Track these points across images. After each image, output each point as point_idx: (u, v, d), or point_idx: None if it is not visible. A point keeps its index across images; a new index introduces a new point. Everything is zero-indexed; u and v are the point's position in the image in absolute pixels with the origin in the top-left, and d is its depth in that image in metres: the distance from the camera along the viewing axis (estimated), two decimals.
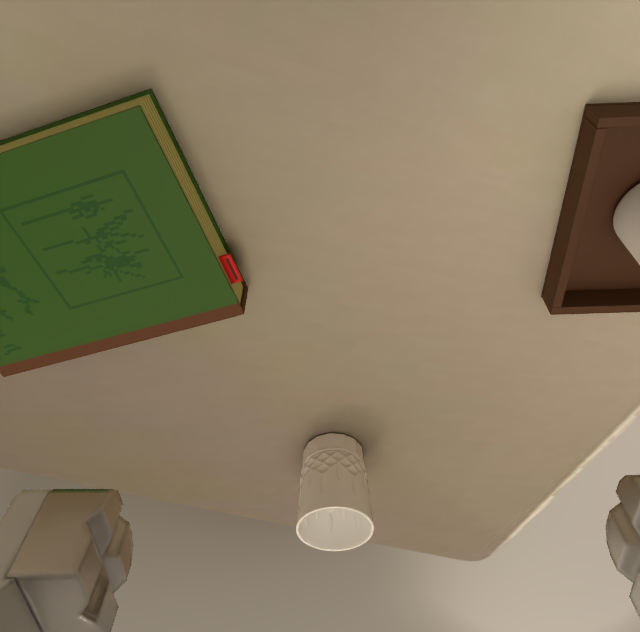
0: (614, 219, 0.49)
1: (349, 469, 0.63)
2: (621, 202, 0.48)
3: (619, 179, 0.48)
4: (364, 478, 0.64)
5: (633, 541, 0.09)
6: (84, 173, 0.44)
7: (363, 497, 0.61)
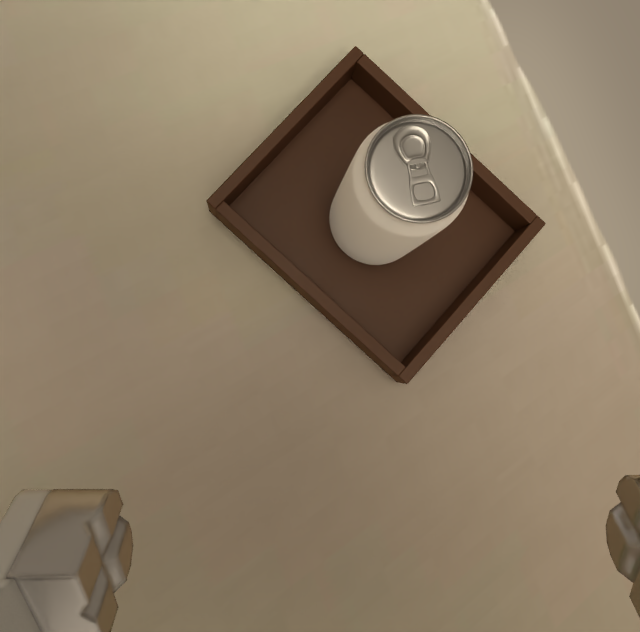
0: (350, 256, 0.41)
1: None
2: (335, 239, 0.41)
3: (312, 228, 0.42)
4: None
5: (633, 541, 0.09)
6: None
7: None
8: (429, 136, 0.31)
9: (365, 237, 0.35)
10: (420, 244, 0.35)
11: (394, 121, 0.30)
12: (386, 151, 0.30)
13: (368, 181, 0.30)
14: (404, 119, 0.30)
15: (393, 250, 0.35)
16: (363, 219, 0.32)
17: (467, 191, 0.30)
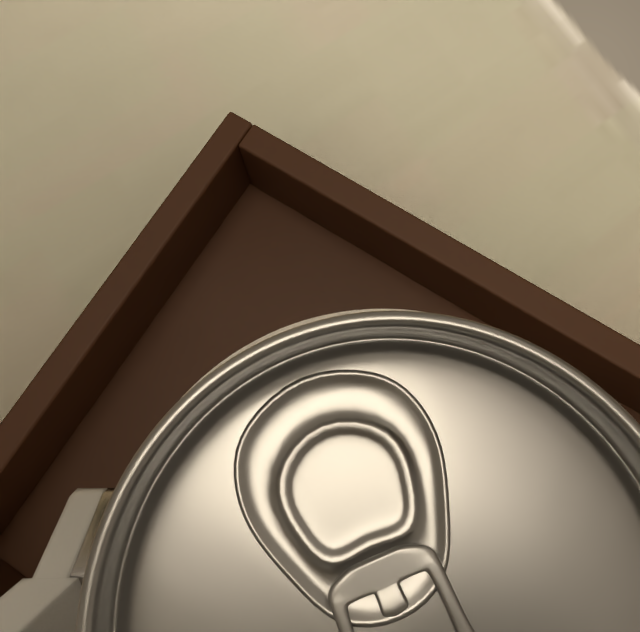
0: None
1: None
2: None
3: None
4: None
5: None
6: None
7: None
8: (425, 412, 0.06)
9: None
10: None
11: (217, 381, 0.06)
12: (206, 543, 0.06)
13: None
14: (273, 355, 0.06)
15: None
16: None
17: None
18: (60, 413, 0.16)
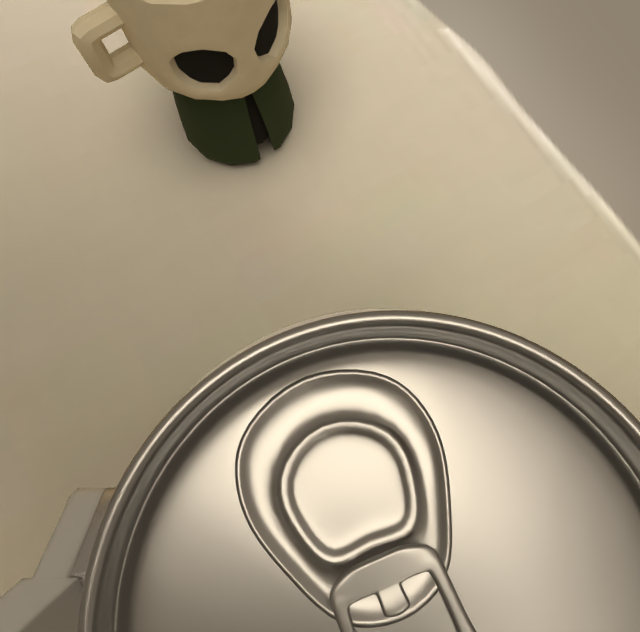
0: None
1: None
2: None
3: None
4: None
5: None
6: None
7: None
8: (427, 412, 0.06)
9: None
10: None
11: (218, 381, 0.06)
12: (208, 544, 0.06)
13: None
14: (274, 355, 0.06)
15: None
16: None
17: None
18: None
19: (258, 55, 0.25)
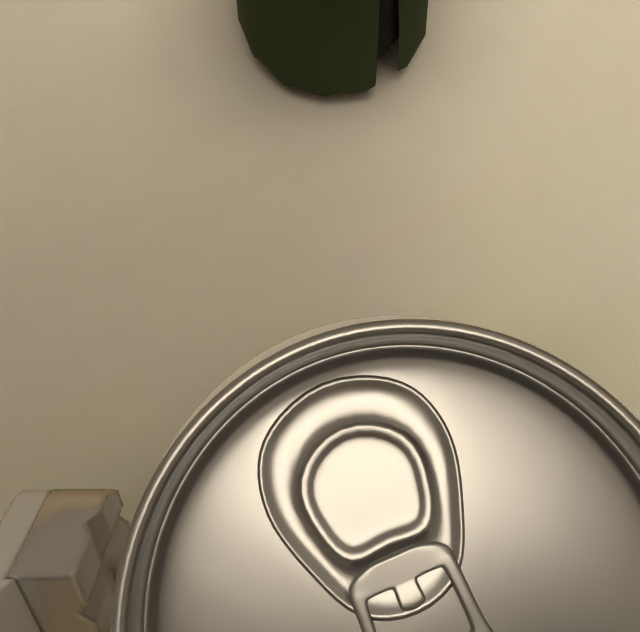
0: None
1: None
2: None
3: None
4: None
5: None
6: None
7: None
8: (439, 416, 0.06)
9: None
10: None
11: (242, 386, 0.06)
12: (232, 541, 0.06)
13: None
14: (294, 362, 0.06)
15: None
16: None
17: None
18: None
19: None
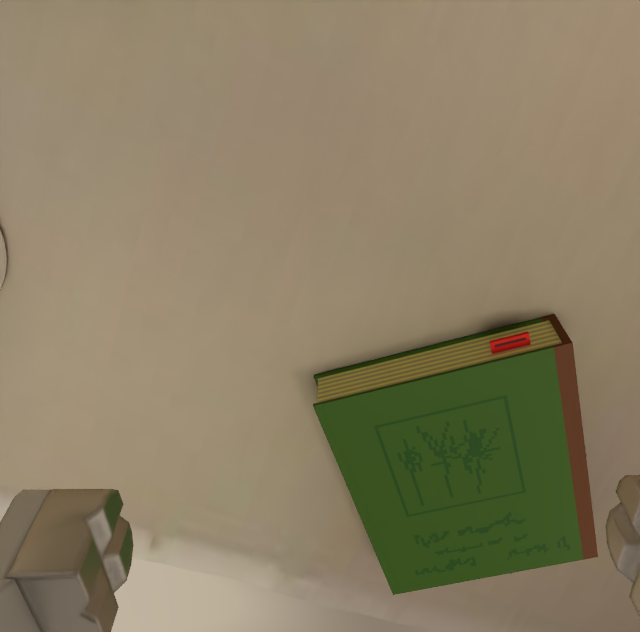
0: None
1: None
2: None
3: None
4: None
5: (633, 541, 0.09)
6: (375, 454, 0.47)
7: None
8: None
9: None
10: None
11: None
12: None
13: None
14: None
15: None
16: None
17: None
18: None
19: None
